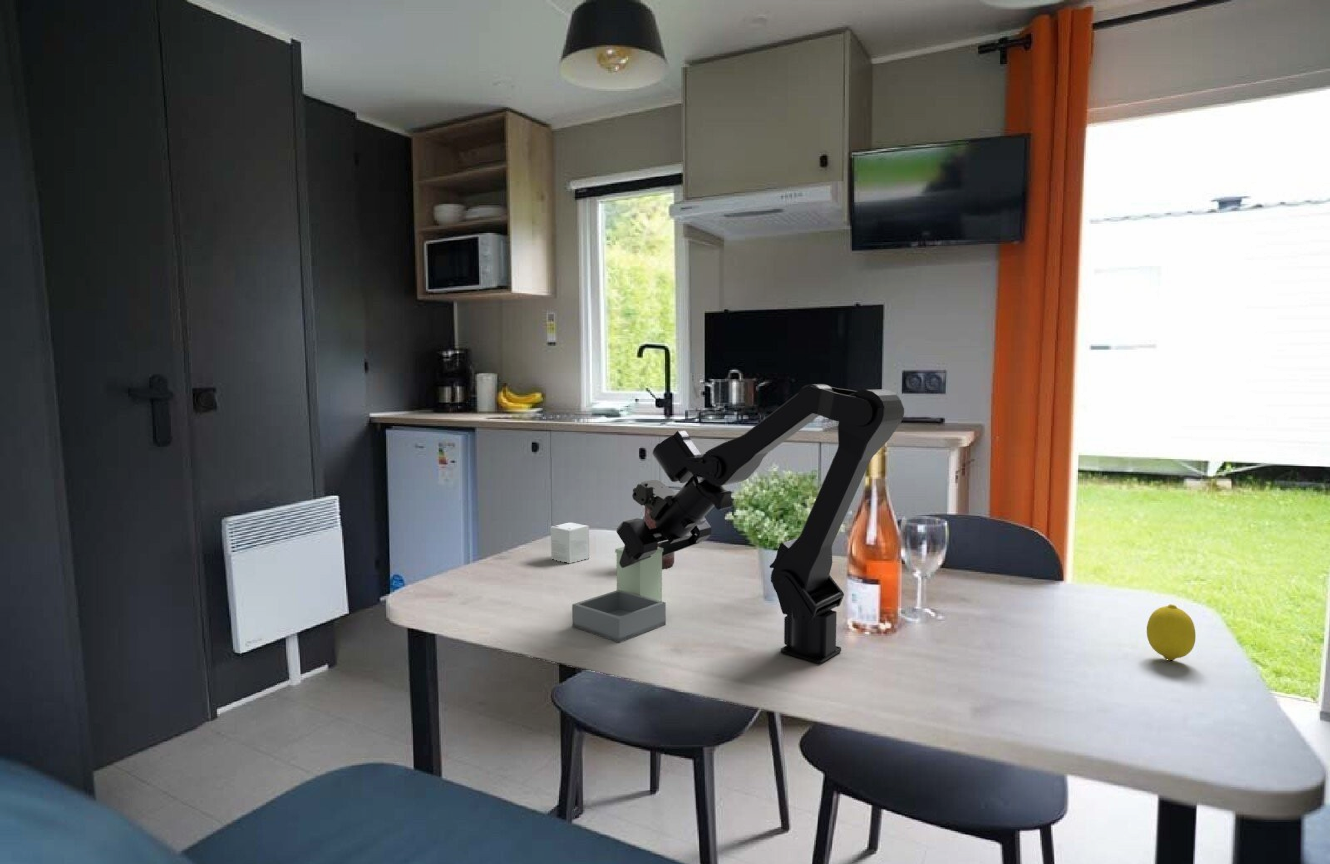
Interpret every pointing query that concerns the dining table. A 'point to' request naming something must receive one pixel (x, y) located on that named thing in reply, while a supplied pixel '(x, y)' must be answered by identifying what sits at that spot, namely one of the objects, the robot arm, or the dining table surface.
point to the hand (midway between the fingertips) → (639, 560)
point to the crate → (618, 615)
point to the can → (667, 559)
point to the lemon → (1171, 632)
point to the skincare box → (570, 542)
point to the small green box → (641, 576)
